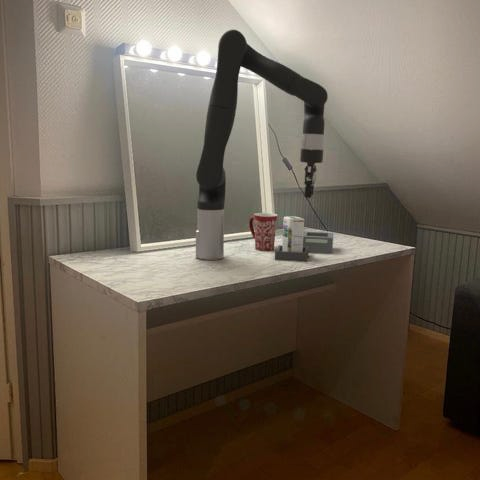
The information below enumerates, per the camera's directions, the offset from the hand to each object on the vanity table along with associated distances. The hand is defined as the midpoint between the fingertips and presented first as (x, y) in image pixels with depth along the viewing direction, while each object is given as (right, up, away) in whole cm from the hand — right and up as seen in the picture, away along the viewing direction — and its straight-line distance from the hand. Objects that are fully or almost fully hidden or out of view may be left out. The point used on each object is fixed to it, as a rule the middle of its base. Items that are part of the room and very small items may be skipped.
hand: (308, 196), depth 168 cm
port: (+6, -19, +22) cm, 29 cm away
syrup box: (-5, -21, +8) cm, 23 cm away
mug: (-15, -18, +23) cm, 33 cm away
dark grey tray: (-5, -21, +8) cm, 23 cm away
